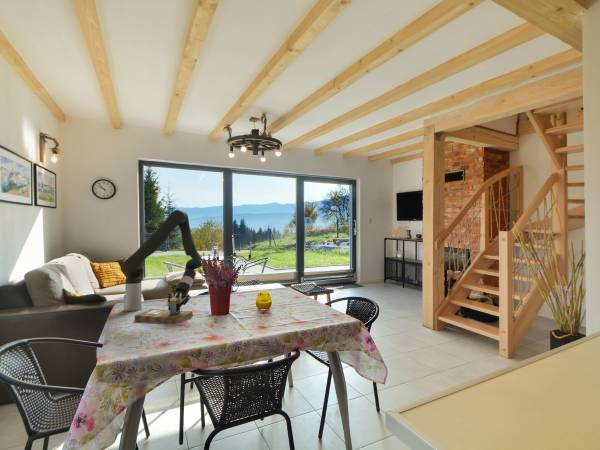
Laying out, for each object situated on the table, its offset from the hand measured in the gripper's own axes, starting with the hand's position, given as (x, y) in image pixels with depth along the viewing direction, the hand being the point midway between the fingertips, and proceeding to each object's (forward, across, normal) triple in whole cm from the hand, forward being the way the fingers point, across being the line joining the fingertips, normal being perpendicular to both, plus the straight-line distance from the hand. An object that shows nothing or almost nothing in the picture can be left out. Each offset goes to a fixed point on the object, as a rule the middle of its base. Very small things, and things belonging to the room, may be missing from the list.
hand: (173, 310), depth 182 cm
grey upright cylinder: (+3, 0, +5) cm, 6 cm away
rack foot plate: (+3, -7, +5) cm, 9 cm away
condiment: (-23, -24, +32) cm, 46 cm away
